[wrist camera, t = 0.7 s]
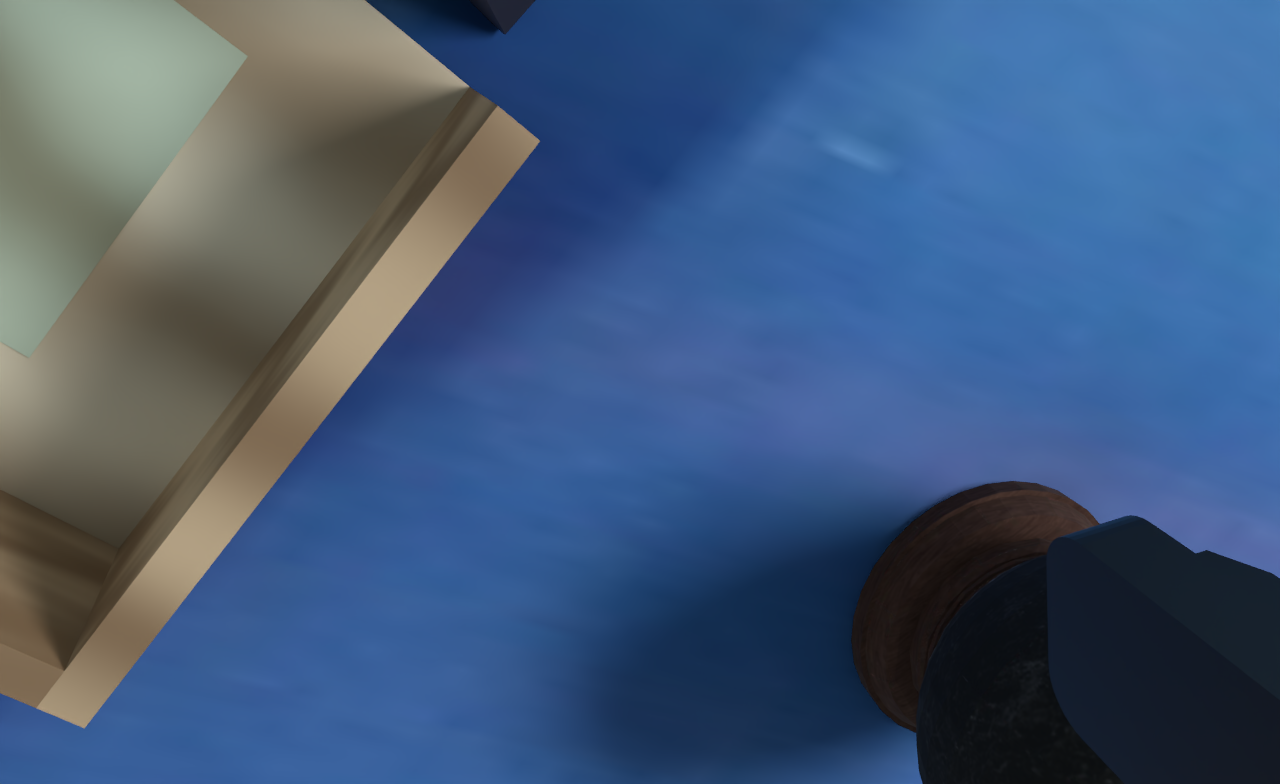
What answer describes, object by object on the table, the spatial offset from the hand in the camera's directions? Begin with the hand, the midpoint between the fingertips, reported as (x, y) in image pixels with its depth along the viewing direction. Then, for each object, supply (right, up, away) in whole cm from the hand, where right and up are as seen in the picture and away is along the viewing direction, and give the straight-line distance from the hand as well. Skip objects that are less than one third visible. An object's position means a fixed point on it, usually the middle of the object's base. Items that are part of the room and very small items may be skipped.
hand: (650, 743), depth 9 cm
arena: (-15, +8, +18) cm, 25 cm away
